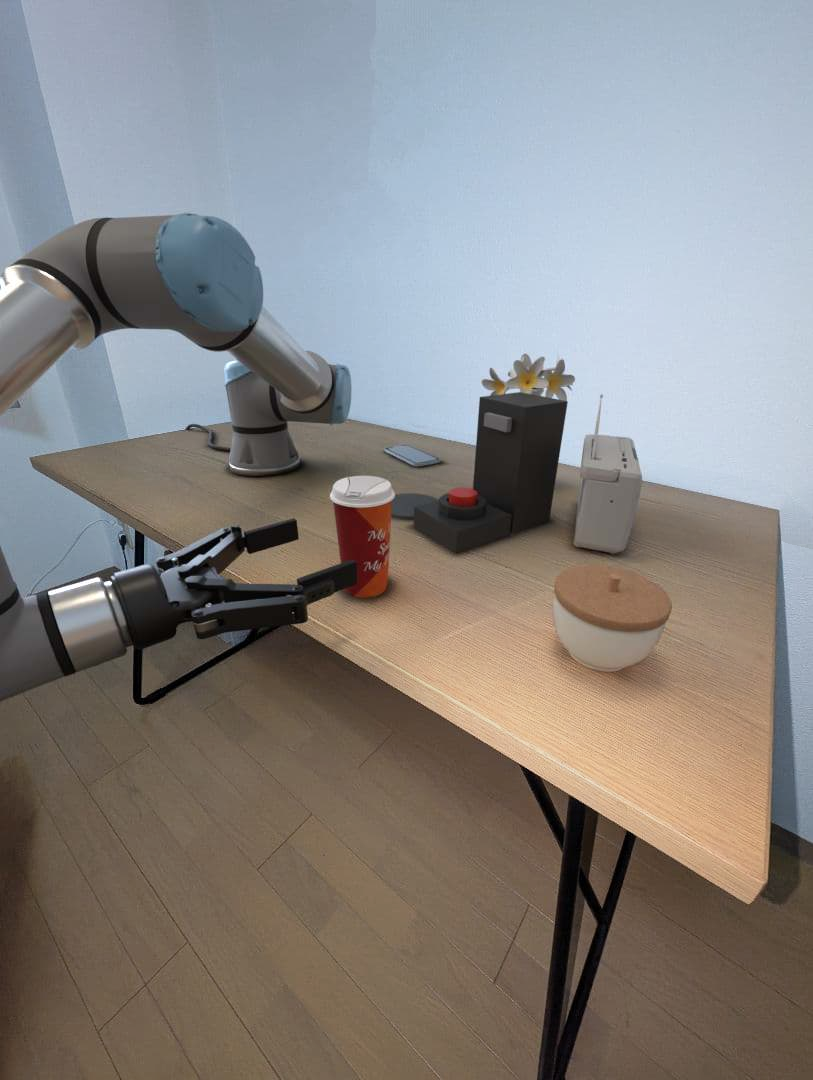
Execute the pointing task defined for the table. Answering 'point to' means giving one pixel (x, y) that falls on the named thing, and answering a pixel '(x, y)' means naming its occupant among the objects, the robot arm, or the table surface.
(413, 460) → the smartphone
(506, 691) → the table surface
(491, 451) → the tank
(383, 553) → the paper cup
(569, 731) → the table surface
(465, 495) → the coffee button
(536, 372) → the flower vase
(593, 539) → the radio
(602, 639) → the trinket box
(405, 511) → the coaster
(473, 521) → the base
